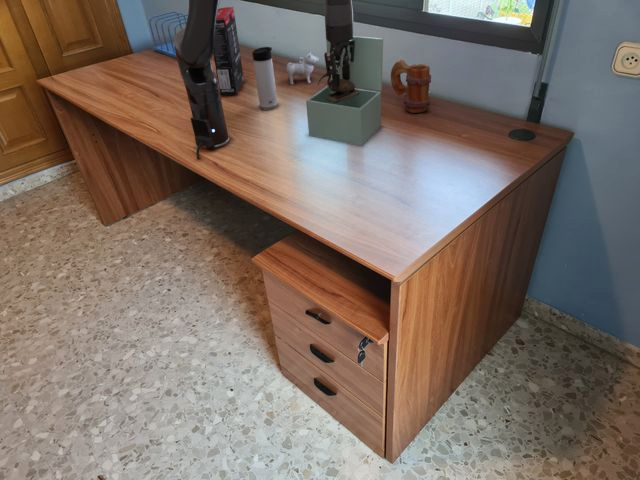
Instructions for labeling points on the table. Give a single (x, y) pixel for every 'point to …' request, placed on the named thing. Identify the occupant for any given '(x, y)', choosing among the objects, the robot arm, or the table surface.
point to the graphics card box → (227, 53)
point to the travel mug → (265, 78)
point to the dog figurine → (302, 67)
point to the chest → (344, 116)
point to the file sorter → (169, 47)
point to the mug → (412, 85)
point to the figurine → (340, 90)
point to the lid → (365, 63)
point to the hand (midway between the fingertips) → (341, 82)
